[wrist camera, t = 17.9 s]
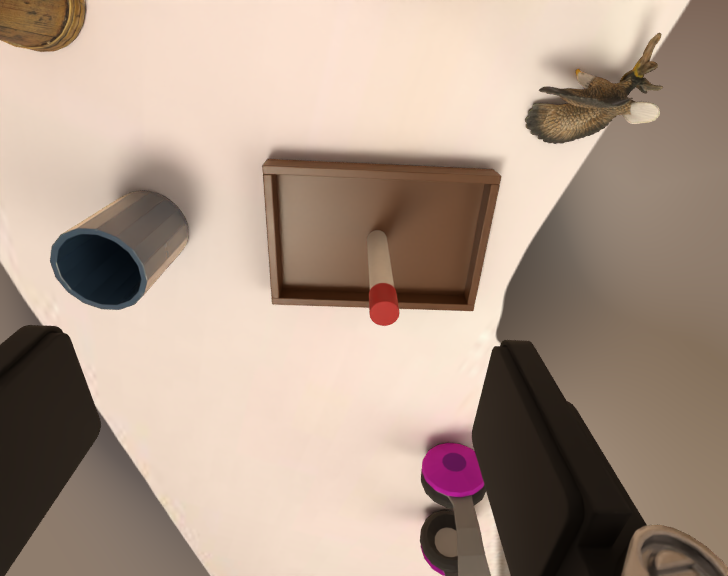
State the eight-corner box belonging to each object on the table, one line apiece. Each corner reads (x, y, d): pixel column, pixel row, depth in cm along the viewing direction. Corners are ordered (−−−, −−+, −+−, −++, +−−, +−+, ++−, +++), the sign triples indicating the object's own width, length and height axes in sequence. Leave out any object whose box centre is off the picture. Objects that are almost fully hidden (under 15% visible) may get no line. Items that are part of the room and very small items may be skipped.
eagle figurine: (622, 9, 33) (521, 69, 34) (695, 51, 29) (581, 118, 30) (604, 88, 40) (519, 138, 40) (661, 131, 36) (568, 185, 37)
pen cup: (105, 188, 41) (37, 226, 32) (182, 192, 41) (135, 230, 32) (123, 257, 44) (66, 308, 36) (194, 260, 45) (154, 311, 36)
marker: (366, 228, 43) (370, 300, 30) (388, 229, 43) (400, 301, 30) (365, 248, 44) (368, 325, 32) (386, 249, 44) (398, 326, 32)
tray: (267, 158, 40) (262, 165, 37) (493, 169, 40) (501, 176, 38) (276, 292, 47) (271, 304, 45) (467, 298, 48) (473, 311, 45)
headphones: (470, 522, 69) (508, 681, 52) (416, 524, 69) (436, 684, 52) (479, 434, 59) (531, 596, 41) (416, 437, 59) (442, 600, 41)
